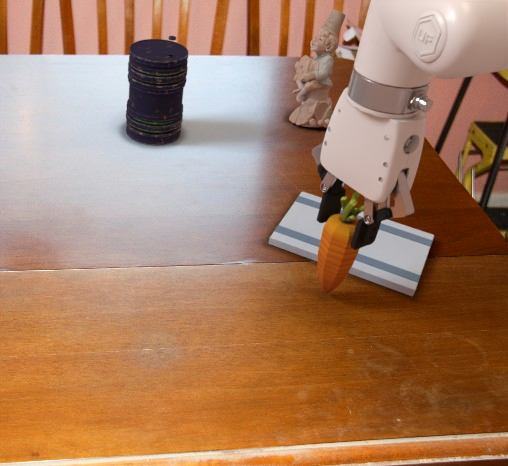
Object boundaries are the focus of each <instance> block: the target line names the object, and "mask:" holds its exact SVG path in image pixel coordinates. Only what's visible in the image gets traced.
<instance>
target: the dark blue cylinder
mask: <svg viewBox="0 0 508 466" xmlns="http://www.w3.org/2000/svg"><path fill="white" fill-rule="evenodd" d="M176 40H177V36H175V35H169V36H168V39H161V38H147V39H140V40H137V41H134V42H133V43H131V44H130V46H129V48H128V49H129V51H128V54H129V56H128V63H127V66H128V67H127V72H128V73H127V81H128V84H129V85H128V99H127V100H126V110H125V122H126V123H125V124H126V126H125V133H126V135H127V137H128V138H129V139H131V140H133V141H134V142H135V143H139V144H142V145H147V146H166V145H169V144H172V143H175V142H177V140H179V138H180V137H181V134H182V133H181V128H182V123H183V118H184V114H183V113H184V104H183V99H184V88H185V86H186V83H187V75H188V70H189V69H188V59H189V49H188V48H187V47H186V46H184V45H183V44H181V43H179V42H177V41H176Z"/></svg>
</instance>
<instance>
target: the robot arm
mask: <svg viewBox="0 0 508 466" xmlns="http://www.w3.org/2000/svg"><path fill="white" fill-rule="evenodd" d="M503 71H508V0H369V4H368V9H367V13H366V17H365V22H364V24H363V29H362V32H361V35H360V40H359V44H358V48H357V50H356V54H355V59H354V64H353V67H352V70H351V75H350V78H349V82H348V85H347V87H344V89H343V91H342V93H341V94H340V96H339V97H338V100H337V102H336V104H335V106H334V108H333V110H332V116H331V119H330V122H329V125H328V127H326V131H325V134H324V137H323V141H322V142H320V143H318V144H317V145H316V146H314V147H313V148H312V149H311V155H312V157H313V159H314V162H315V164H316V166H317V172H318V175H319V178H320V182H321V183H320V184H319V188H320V191H321V192H322V196H321V198H322V200H321V204H320V207H319V212H318V216H317V221H318V222H319V223H324V222H327V220H328V218H329V217H330V215H333V214H339V213H340V212H341V208H342V205H341V198H342V197H344V196H346V194H347V192H346V191H347V189H346V188H345V187H344V186H345V185H347V186H348V187H349V188H351V189H352V190H353V191H354V190H356V191H357V192H358V193H360V194H359V195H361V196H363V199H364V200H363V205H364V211H363V212H364V216H363V218H362V219H359V220H358V222H357V225H356V228H355V231H354V234H353V238H352V241H351V244H350V245H351V248H353V249H354V250H356V249H359V248H362V247H364V246H367V245H370V244H372V243H373V242H374V241H375V239H376V236H377V233H378V230H379V227H380V224H381V221H383V220H390V219H400V218H406V217H409V216H411V215H414V213H415V208H414V202H413V199H412V195H411V190H412V188H413V184H414V182H415V178H416V175H417V171H418V168H419V166H420V165H419V164H420V161H421V157H422V152H423V147H424V143H425V136H426V127H427V113H428V112H429V111H430V110H431V109H432V107H433V105H434V100H433V99H431V98H429V97H428V95H427V94H428V91H429V90H430V89H429V88H430V84H431V83H430V82H431V80H432V78H436V79H440V80H459V79H464V78H468V77H469V78H470V77H476V76H481V75H482V76H483V75H485V74H486V75H487V74H490V73H491V74H492V73H497V72H503ZM391 193H392V197H393V201H394V204H392V205H391Z"/></svg>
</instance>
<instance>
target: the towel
mask: <svg viewBox="0 0 508 466" xmlns="http://www.w3.org/2000/svg"><path fill="white" fill-rule="evenodd" d="M321 200H322V196H318V195H314V194H312V193H309V192H306V191H301V192H300V194H299V195H297V197H296V199H295V200H294V202H293V203H292V205H291V206H290V208H289V209H288V211H287V212H286V213H285V215H284V216H283V217H282V220H281V221H280V222H279V223H278V224H277V226H276V227H275V229H274V230H273V232H272V234H271V235H270V236H269V240H268V245H271V246H273V247H276V248H278V249H282V250H284V251H287V252H290V253H293V254H296V255H298V256H301V257H304V258H306V259H309V260H311V261H314V262H317V260H318V250H319V245H320V240H321V236H322V232H323V228H324V225H325V223H326V222H324V223H319V222H318V221H317V216H318V212H319V207H320V204H321ZM340 213H343V209H342V208H341V212H340ZM363 216H364V211H362V212H361V213H359V214H358V215H357V216H356V217H358V218H359V219H362V218H363ZM434 238H435V234H432V233H430V232H426V231H424V230H421V229H418V228H413V227H411V226H408V225H405V224H402V223H399V222H396V221H393V220H390V219H387V220H383V221H381V224H380V227H379V230H378V233H377V236H376V239H375V241H374V242H373V243H372V244H370V245H367V246H364V247H362V248H360V249H359V251H358V254H357V256H356V259H355V261H354V263H353V265H352V267H351V269H350V270H349V272H348V274H349V275H352V276H356V277H357V278H361V279H363V280H365V281H369V282H372V283H374V284H376V285H380V286H381V287H382V286H383V287H385V288H387V289H390V290H393V291H396V292H398V293H402V294H404V295H407V296H409V297H414V295H415V292H416V290H417V287H418V284H419V281H420V279H421V275H422V273H423V270H424V267H425V264H426V261H427V259H428V255H429V252H430V249H431V246H432V244H433V241H434Z"/></svg>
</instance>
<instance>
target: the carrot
mask: <svg viewBox="0 0 508 466" xmlns="http://www.w3.org/2000/svg"><path fill="white" fill-rule="evenodd" d="M360 195H361V194H360V193H358V192H357V191H356V190H354V189H353V190H352V194H351V197H350V201H349V199H348V196H346V195H345V196H344V197H342V198H341V205H342V209H343V213H339V214H333V215H330V217H329V218H328V220H327V222H326V223H325V225H324V228H323V232H322V236H321V240H320V245H319V250H318V260H317V261H316V266H317V267H316V269H317V270H316V273H317V278H318V282H319V285H320V287H321V290H322V291H323V292H324V293H325V294H329V293H332V292H333V291H335V290H336V289H338V287H339V286H340V285H341V284H342V283H343V282H344V281H345V279H346V277H347V276H348V274H349V273H348V272H349V270H350V269H351V267H352V265H353V263H354V261H355V259H356V256H357V254H358V251H359V249H360V248H359V249H356V250H354V249H353V248H351V245H350V244H351V241H352V238H353V234H354V231H355V228H356V225H357V222H358V220H359V218H358V217H356V216H357V215H358V214H359V213H361V212H362V211H363V212H364V204H362V205H361V206H360V207H358V208H357V207H356V206H357V205H358V204H359V201H358V200H359V197H360Z"/></svg>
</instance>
